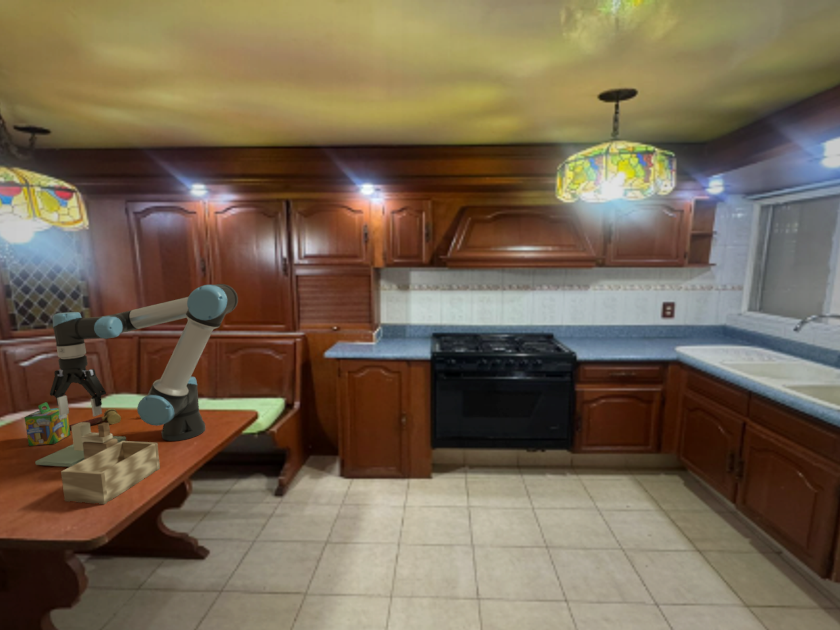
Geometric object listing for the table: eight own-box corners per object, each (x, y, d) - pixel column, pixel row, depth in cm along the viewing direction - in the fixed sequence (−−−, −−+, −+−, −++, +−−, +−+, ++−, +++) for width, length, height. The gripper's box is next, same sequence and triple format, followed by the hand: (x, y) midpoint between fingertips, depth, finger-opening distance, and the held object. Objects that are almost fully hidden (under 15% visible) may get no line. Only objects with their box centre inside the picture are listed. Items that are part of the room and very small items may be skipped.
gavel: (55, 430, 157) (53, 423, 164) (57, 441, 158) (55, 433, 165) (119, 412, 172) (115, 407, 179) (121, 422, 173) (117, 416, 180)
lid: (94, 440, 155) (91, 412, 154) (126, 442, 153) (123, 414, 152) (36, 467, 135) (31, 435, 133) (72, 469, 133) (68, 437, 131)
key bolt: (91, 437, 133) (89, 420, 132) (112, 438, 132) (110, 421, 131) (81, 441, 129) (79, 425, 129) (103, 442, 128) (101, 426, 128)
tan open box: (100, 464, 135) (96, 436, 134) (159, 468, 132) (157, 439, 131) (36, 498, 116) (31, 465, 114) (104, 504, 112) (100, 470, 111)
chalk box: (54, 444, 151) (50, 407, 150) (27, 446, 150) (21, 408, 148) (71, 434, 160) (67, 399, 159) (45, 436, 159) (41, 400, 157)
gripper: (30, 359, 138) (39, 417, 140) (93, 359, 134) (101, 419, 137) (53, 354, 145) (61, 410, 148) (113, 354, 142) (121, 411, 144)
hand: (81, 414), depth 142 cm, fingers open, 13 cm apart
